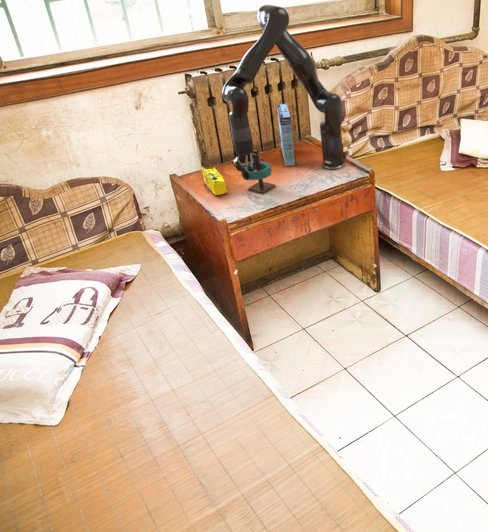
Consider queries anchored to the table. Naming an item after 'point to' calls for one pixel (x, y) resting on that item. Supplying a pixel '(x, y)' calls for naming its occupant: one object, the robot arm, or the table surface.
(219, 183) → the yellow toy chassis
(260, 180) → the brown peg stand
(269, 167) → the teal ring
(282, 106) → the gum box
